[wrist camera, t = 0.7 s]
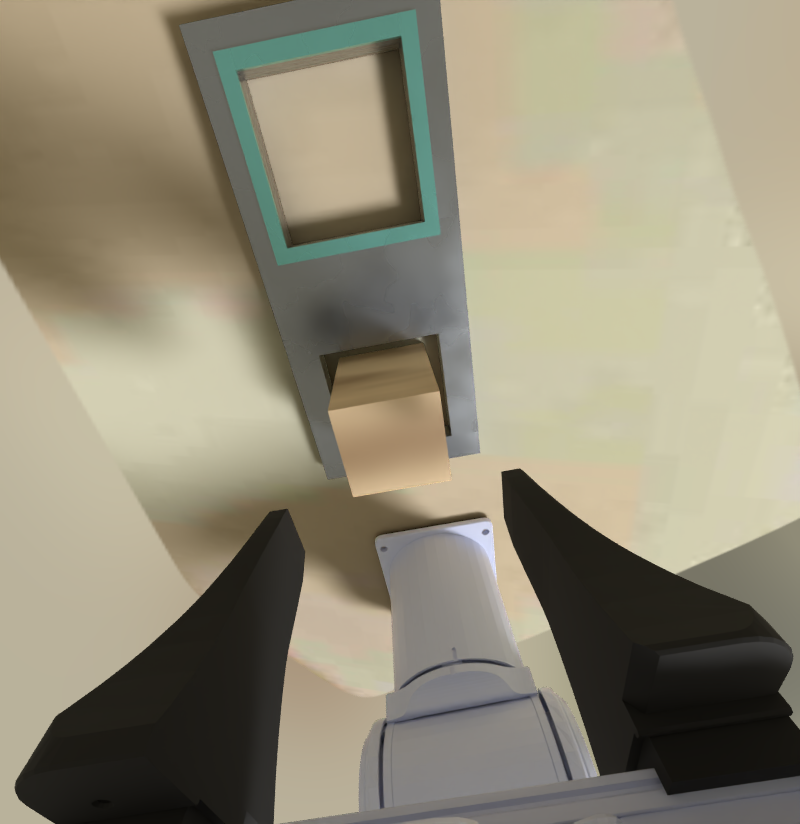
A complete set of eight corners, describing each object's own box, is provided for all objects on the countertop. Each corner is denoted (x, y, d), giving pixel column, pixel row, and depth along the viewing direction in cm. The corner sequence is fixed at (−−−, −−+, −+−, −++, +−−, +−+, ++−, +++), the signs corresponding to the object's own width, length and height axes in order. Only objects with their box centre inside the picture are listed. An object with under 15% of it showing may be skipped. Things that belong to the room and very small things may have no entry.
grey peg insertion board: (475, 441, 24) (481, 454, 23) (329, 467, 24) (327, 481, 23) (432, -14, 14) (438, -34, 13) (192, 37, 15) (176, 22, 13)
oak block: (433, 415, 23) (451, 480, 18) (357, 429, 23) (353, 497, 18) (422, 342, 21) (439, 391, 16) (339, 357, 21) (327, 411, 16)
